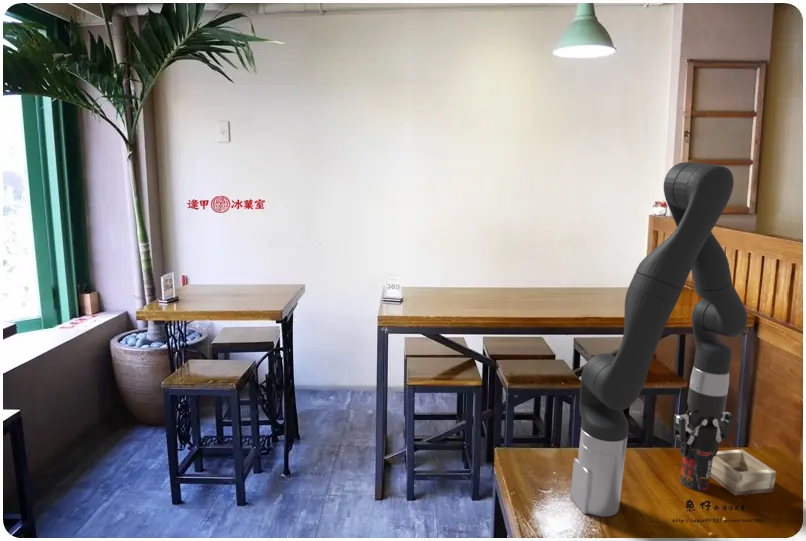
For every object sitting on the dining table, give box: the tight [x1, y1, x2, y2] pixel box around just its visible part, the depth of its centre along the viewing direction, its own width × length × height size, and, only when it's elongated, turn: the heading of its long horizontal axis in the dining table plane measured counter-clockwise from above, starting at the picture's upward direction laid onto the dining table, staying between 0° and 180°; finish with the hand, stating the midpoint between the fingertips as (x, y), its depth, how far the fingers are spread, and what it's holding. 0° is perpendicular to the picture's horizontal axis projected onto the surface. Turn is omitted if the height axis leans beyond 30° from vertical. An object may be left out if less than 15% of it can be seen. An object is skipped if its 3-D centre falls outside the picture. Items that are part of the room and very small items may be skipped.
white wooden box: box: [710, 448, 777, 496], centre depth 129 cm, size 10×10×5 cm
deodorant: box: [679, 423, 718, 492], centre depth 127 cm, size 6×6×15 cm
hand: (698, 455), depth 127 cm, fingers closed on deodorant, 6 cm apart
